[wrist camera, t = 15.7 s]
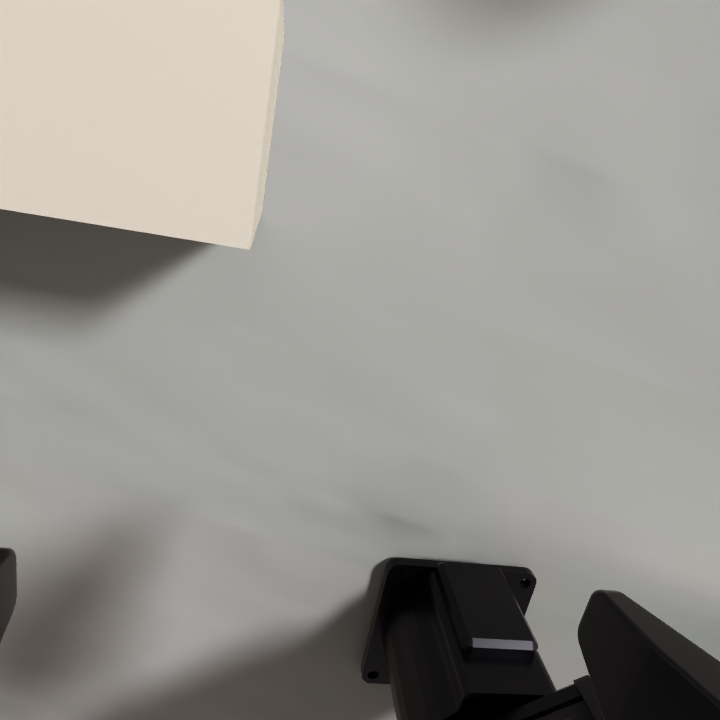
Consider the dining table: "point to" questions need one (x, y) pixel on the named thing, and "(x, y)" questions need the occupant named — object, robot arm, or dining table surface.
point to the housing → (140, 113)
